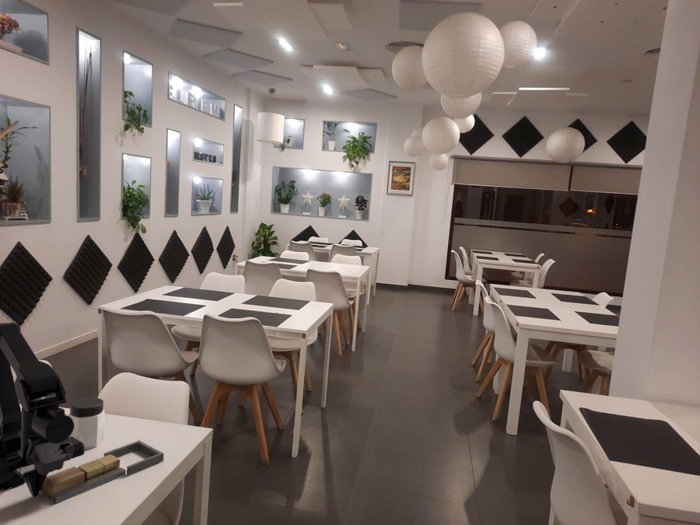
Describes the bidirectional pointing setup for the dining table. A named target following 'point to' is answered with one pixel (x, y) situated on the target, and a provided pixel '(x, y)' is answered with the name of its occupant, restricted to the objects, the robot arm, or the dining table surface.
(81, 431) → the jar
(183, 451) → the dining table surface
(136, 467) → the tray
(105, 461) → the tan wooden block
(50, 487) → the tan wooden brick
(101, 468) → the olive wooden block
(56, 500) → the rail bed
